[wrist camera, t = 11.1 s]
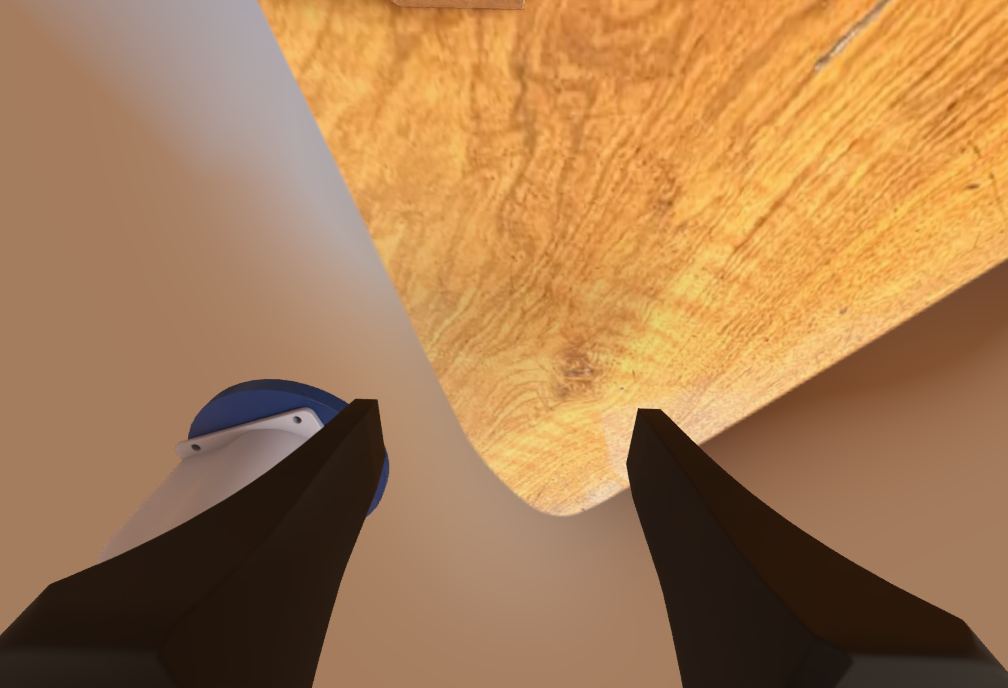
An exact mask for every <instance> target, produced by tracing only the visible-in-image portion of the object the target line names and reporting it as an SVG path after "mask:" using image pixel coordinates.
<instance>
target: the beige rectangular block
mask: <svg viewBox="0 0 1008 688" xmlns="http://www.w3.org/2000/svg"><path fill="white" fill-rule="evenodd" d="M391 1H392V2H394V3H395V4H396V5H398V6H401V7H448V8H494V9H523V8H524V3H525V0H391Z"/></svg>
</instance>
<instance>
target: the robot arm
mask: <svg viewBox="0 0 1008 688" xmlns="http://www.w3.org/2000/svg"><path fill="white" fill-rule="evenodd" d="M296 416H297V417H300V418H301V419H298V418H297V417H296ZM174 449H175V452H176V453H177V454H178V456H180V458H181V459H182V461H181V463H180V464H179V465H178V466H177V467H176V468H175V469H174V470H173V471H172V472H171V473H170V474H169V475H168V476H167V477H166V479H165V480H164V481H163V482H162V483H161V484H160V485H159V486H158V487H157V488H156V489H155V490H154V491H153V492H152V494H151V495H150V496H149V497H148V498H147V499H146V500H145V501H144V502H143V503H142V504H141V505H140V506H139V508H138V509H137V510H136V511H135V512H134V513H133V514H132V515H131V516H130V517H129V518H128V519H127V520H126V522H125V523H124V524H123V525H122V526H121V527H120V528H119V529H118V530H117V531H116V532H115V533H114V535H113V536H112V537H111V538H110V540H109V541H108V542H107V543H106V545H105V546H104V548H103V550H102V552H101V554H100V556H99V558H98V561H97V563H96V565H95V566H92V567H90V568H88V569H85V570H83V571H81V572H79V573H76V574H74V575H71V576H69V577H67V578H64V579H62V580H59V581H57V582H54V583H52V584H50V585H49V586H48V587H47V588H46V589H45V590H44V591H43V592H42V593H41V594H40V595H39V596H38V597H37V598H36V599H35V600H34V601H33V602H32V603H31V604H30V605H29V606H28V607H27V608H26V610H25V611H23V612H22V614H21V615H20V616H19V617H18V618H17V619H16V620H15V621H14V622H13V623H12V624H11V625H10V626H9V627H8V628H7V629H6V630H5V631H4V632H3V633H2V634H1V635H0V688H312V684H313V681H314V677H315V673H316V669H317V665H318V661H319V657H320V653H321V650H322V646H323V642H324V639H325V635H326V631H327V628H328V624H329V620H330V617H331V613H332V610H333V606H334V603H335V600H336V596H337V593H338V590H339V586H340V583H341V580H342V577H343V574H344V571H345V568H346V565H347V563H348V560H349V558H350V555H351V553H352V550H353V547H354V545H355V543H356V540H357V538H358V535H359V533H360V530H361V528H362V525H363V523H364V520H365V518H366V515H367V513H368V510H369V508H370V505H371V503H372V500H373V498H374V495H375V492H376V490H377V487H378V483H379V479H380V476H381V472H382V468H383V464H384V459H385V448H384V442H383V434H382V427H381V421H380V414H379V407H378V400H376V399H355V400H354V401H352V402H351V403H350V404H349V405H348V406H346V407H345V408H344V409H343V410H342V411H341V412H340V413H338V414H337V415H336V416H335V417H334V418H333V419H332V420H330V421H329V422H328V423H327V424H326V425H325V426H324V425H323V423H322V422H321V421H320V419H319V418H318V416H317V415H316V413H315V412H314V411H313V410H312V409H310V408H308V407H302V408H299V409H295V410H291V411H288V412H284V413H281V414H277V415H274V416H270V417H266V418H263V419H259V420H256V421H252V422H249V423H245V424H241V425H238V426H234V427H231V428H227V429H224V430H220V431H216V432H213V433H209V434H206V435H202V436H199V437H195V438H191V439H188V440H185V441H181V442H179V443H178V444H177V445H176V446H175V448H174ZM626 465H627V471H628V476H629V482H630V487H631V491H632V497H633V500H634V504H635V507H636V510H637V513H638V516H639V519H640V522H641V526H642V528H643V532H644V535H645V538H646V541H647V544H648V546H649V550H650V553H651V556H652V559H653V562H654V565H655V568H656V571H657V574H658V577H659V580H660V585H661V588H662V591H663V595H664V600H665V604H666V608H667V613H668V618H669V622H670V626H671V631H672V636H673V641H674V645H675V650H676V655H677V660H678V665H679V670H680V674H681V680H682V685H683V688H1008V672H1007V671H1006V670H1005V668H1004V667H1003V666H1002V665H1001V664H1000V663H999V661H998V660H997V659H996V658H995V657H994V656H993V654H992V653H991V652H990V651H989V650H988V649H987V647H985V645H984V644H983V643H982V642H981V641H980V639H979V638H978V637H977V636H976V635H975V633H974V632H973V631H972V630H971V629H970V628H969V626H968V625H967V624H966V623H965V622H964V621H963V620H962V619H960V618H958V617H956V616H954V615H952V614H950V613H948V612H946V611H944V610H942V609H940V608H938V607H936V606H934V605H932V604H930V603H928V602H926V601H924V600H922V599H920V598H918V597H916V596H914V595H912V594H910V593H908V592H906V591H904V590H902V589H900V588H898V587H897V586H894V585H893V584H891V583H889V582H887V581H885V580H884V579H882V578H880V577H878V576H877V575H875V574H873V573H871V572H869V571H868V570H866V569H864V568H862V567H861V566H859V565H857V564H855V563H854V562H852V561H850V560H849V559H847V558H845V557H844V556H842V555H840V554H839V553H837V552H835V551H834V550H832V549H830V548H829V547H827V546H826V545H824V544H823V543H821V542H820V541H818V540H817V539H815V538H813V537H812V536H810V535H809V534H807V533H806V532H804V531H802V530H801V529H800V528H798V527H797V526H795V525H794V524H792V523H791V522H789V521H788V520H787V519H785V518H784V517H782V516H781V515H780V514H778V513H777V512H776V511H774V510H773V509H772V508H770V507H769V506H767V505H766V504H765V503H764V502H762V501H761V500H760V499H758V498H757V497H756V496H754V495H753V494H752V493H751V492H749V491H748V490H747V489H746V488H745V487H743V486H742V485H741V484H740V483H739V482H737V481H736V480H735V479H734V478H733V477H732V476H730V475H729V474H728V473H727V472H726V471H725V470H723V469H722V468H721V467H720V466H719V465H718V464H717V463H716V462H714V461H713V460H712V459H711V458H710V457H709V456H708V455H707V454H706V453H705V452H704V451H703V450H702V449H701V448H700V447H699V446H698V445H697V444H695V443H694V442H693V441H692V440H691V439H690V438H689V437H688V436H687V435H686V434H685V433H684V432H683V431H682V430H681V429H680V428H679V427H678V426H677V425H676V424H675V423H674V422H673V421H672V420H671V419H670V418H669V417H668V416H667V415H666V414H665V413H664V412H663V411H662V410H661V409H640V408H638V411H637V416H636V421H635V425H634V430H633V435H632V439H631V444H630V449H629V453H628V458H627V463H626Z"/></svg>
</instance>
